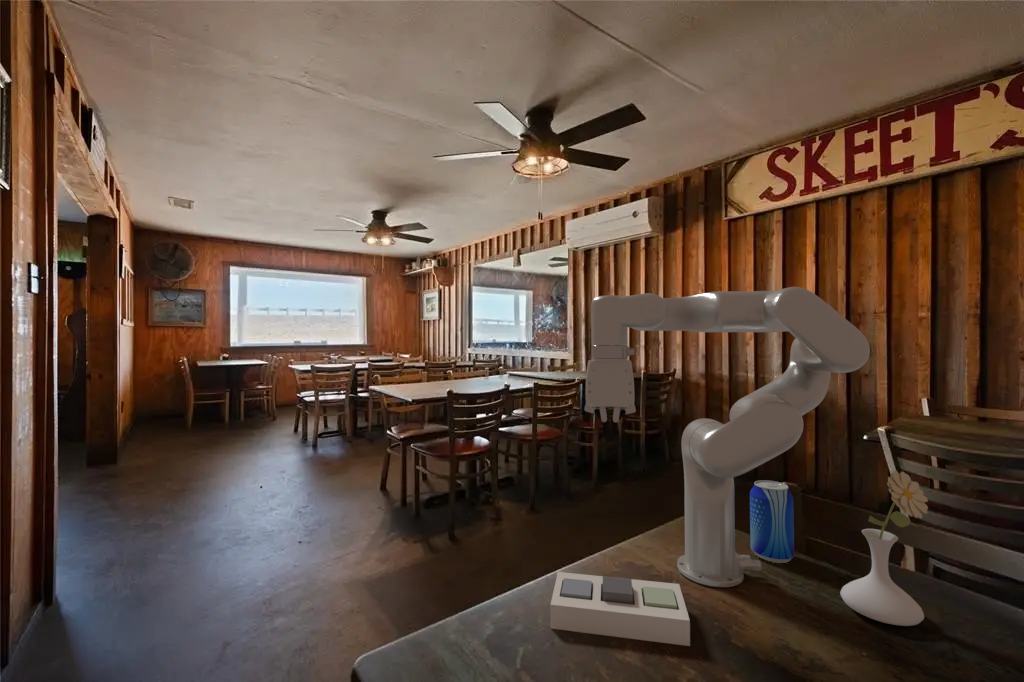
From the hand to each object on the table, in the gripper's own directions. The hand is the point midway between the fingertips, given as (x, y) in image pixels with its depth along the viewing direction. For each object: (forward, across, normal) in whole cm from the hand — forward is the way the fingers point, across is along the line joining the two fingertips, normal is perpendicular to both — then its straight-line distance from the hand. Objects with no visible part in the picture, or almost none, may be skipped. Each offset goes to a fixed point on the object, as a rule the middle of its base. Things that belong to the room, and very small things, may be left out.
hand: (610, 439), depth 96 cm
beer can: (+27, -35, -12) cm, 46 cm away
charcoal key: (+25, -1, +18) cm, 30 cm away
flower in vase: (+27, -47, +7) cm, 55 cm away
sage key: (+26, -8, +17) cm, 32 cm away
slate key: (+26, +6, +18) cm, 32 cm away
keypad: (+27, -1, +18) cm, 32 cm away
